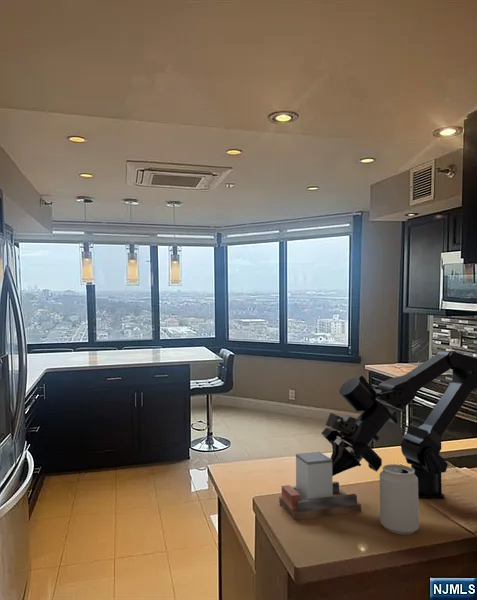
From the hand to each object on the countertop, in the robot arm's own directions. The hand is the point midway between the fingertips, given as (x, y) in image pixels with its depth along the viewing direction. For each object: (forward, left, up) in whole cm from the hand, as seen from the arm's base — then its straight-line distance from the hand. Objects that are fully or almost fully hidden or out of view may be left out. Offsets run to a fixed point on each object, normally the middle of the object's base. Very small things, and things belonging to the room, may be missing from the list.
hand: (326, 475), depth 101 cm
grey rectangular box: (+3, +1, -5) cm, 6 cm away
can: (-13, +10, -7) cm, 18 cm away
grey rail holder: (+2, +1, -7) cm, 7 cm away
